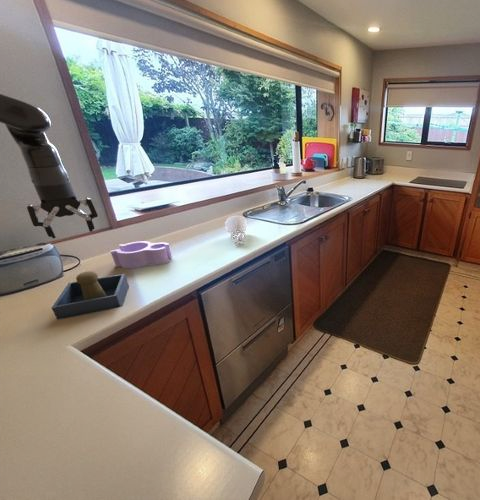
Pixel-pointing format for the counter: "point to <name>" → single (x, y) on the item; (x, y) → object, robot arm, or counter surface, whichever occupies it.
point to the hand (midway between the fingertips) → (73, 234)
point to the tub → (75, 305)
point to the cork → (90, 285)
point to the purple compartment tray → (141, 254)
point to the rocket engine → (236, 228)
